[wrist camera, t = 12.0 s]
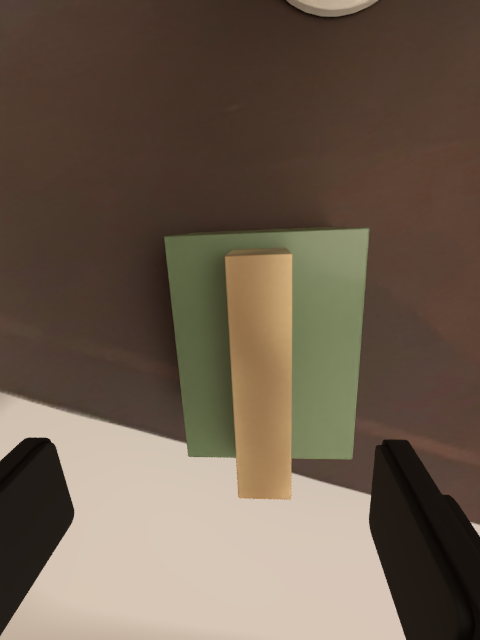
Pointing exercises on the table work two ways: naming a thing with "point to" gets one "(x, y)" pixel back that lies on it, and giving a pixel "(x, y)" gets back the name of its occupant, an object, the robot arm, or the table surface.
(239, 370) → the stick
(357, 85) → the table surface
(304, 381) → the box lid
